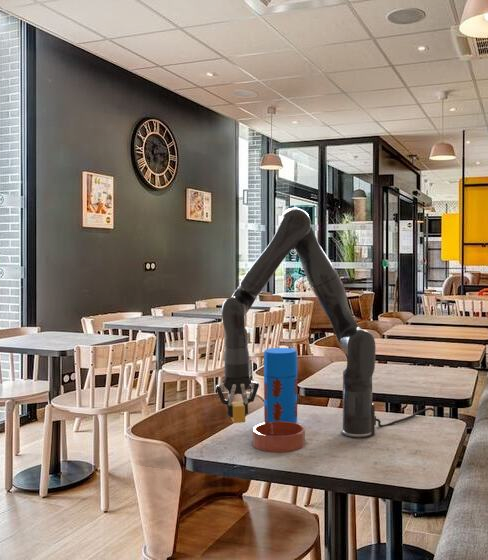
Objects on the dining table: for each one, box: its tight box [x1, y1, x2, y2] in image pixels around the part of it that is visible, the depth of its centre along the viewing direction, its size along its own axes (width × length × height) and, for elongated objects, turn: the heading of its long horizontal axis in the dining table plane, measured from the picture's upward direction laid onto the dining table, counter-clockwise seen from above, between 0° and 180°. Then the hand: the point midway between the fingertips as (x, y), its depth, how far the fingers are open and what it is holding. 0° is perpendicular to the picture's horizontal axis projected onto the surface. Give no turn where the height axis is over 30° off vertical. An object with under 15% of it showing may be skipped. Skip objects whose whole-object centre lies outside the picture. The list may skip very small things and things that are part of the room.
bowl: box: [252, 421, 306, 453], centre depth 180 cm, size 15×15×4 cm
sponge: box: [230, 400, 246, 424], centre depth 186 cm, size 4×6×5 cm, turn 16°
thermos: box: [263, 347, 298, 423], centre depth 197 cm, size 11×11×25 cm
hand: (237, 416), depth 186 cm, fingers closed on sponge, 3 cm apart
